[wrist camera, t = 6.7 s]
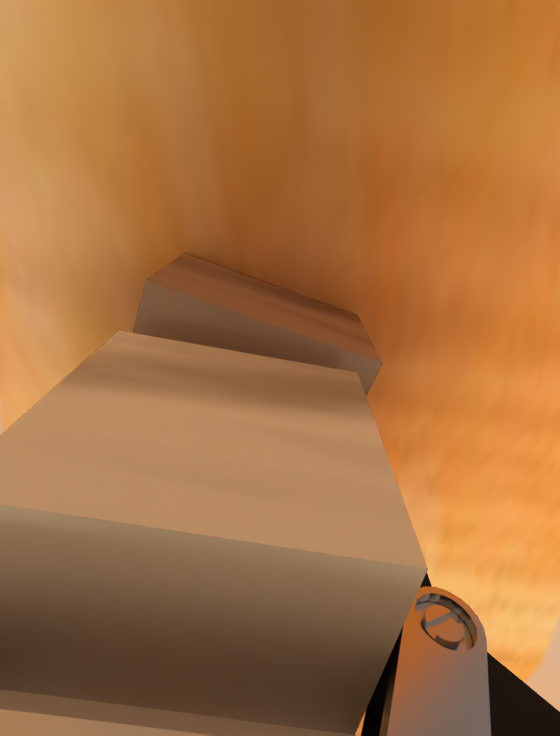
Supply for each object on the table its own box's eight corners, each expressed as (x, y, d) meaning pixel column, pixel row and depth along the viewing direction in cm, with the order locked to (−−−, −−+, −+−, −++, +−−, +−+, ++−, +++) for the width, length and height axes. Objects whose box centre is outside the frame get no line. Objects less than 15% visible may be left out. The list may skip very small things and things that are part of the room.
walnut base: (185, 252, 16) (145, 280, 12) (356, 314, 17) (382, 363, 12) (144, 406, 19) (99, 479, 14) (294, 453, 20) (296, 535, 15)
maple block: (118, 330, 11) (-67, 494, 5) (357, 372, 11) (428, 569, 5) (112, 517, 13) (-18, 767, 7) (308, 547, 13) (322, 807, 8)
